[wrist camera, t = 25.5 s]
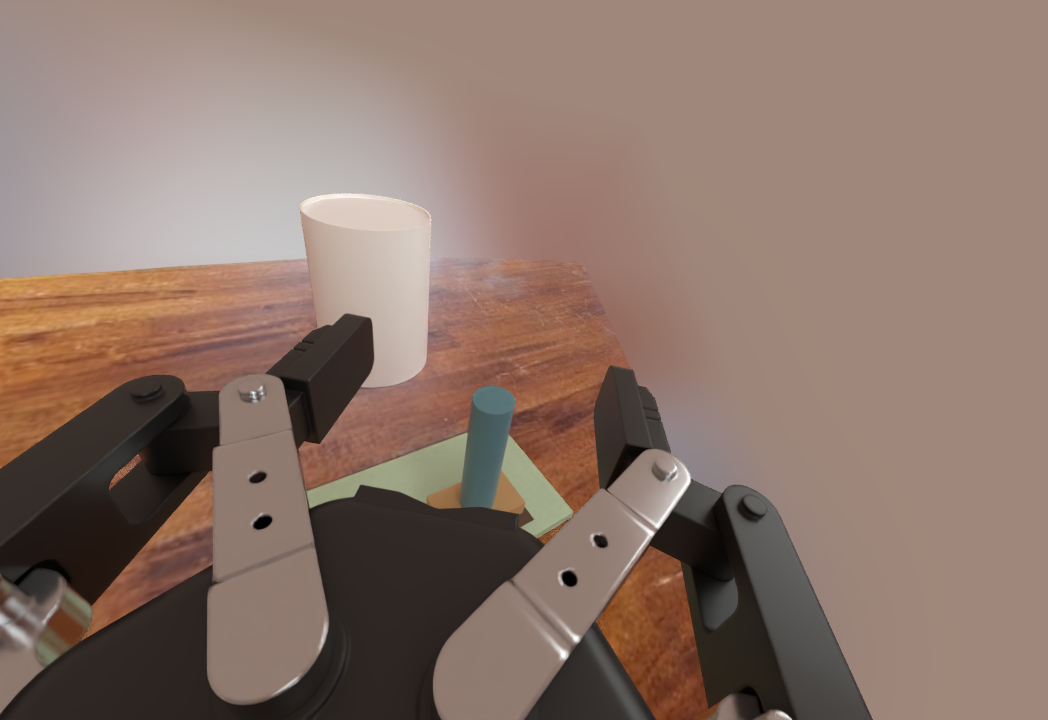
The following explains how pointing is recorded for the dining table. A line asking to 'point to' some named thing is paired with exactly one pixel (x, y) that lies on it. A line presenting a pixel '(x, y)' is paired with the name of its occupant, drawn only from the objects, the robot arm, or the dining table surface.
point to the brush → (484, 457)
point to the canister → (372, 274)
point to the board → (455, 481)
